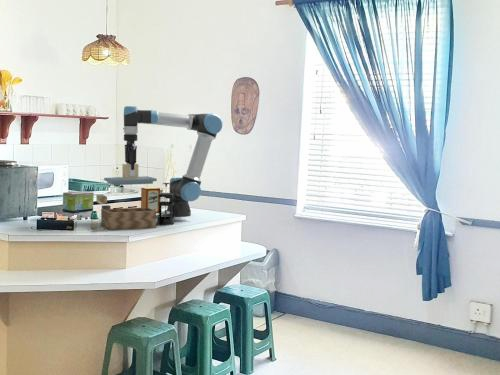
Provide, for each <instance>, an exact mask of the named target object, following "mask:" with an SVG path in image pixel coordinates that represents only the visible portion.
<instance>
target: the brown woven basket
mask: <svg viewBox="0 0 500 375" xmlns="http://www.w3.org/2000/svg"><path fill="white" fill-rule="evenodd" d="M100 221H101V222H100V226H101V227H102V228H104V227H105V229H106V230H108V231H115V230H135V229H154V228H157V213H156V211H155V210H152V209H150V208H141V207H128V208H127V207H126V208H123V207H122V208H120V207H119V208H111V205H109V204H108V205H107V204H103V205H101V212H100Z"/></svg>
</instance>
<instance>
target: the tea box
mask: <svg viewBox="0 0 500 375" xmlns="http://www.w3.org/2000/svg"><path fill="white" fill-rule="evenodd" d="M94 193H95V192H92V191H84V190H81V191H80V190H79V191H78V190H77V191H68V192H62V215H63V216H68V217H71V216H74V215H77V219H79V220H80V219H85V218H92V217H91V213H92V212H93V213H94ZM62 215H61V216H62ZM77 219H76V220H77Z"/></svg>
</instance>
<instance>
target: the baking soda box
mask: <svg viewBox="0 0 500 375" xmlns="http://www.w3.org/2000/svg"><path fill="white" fill-rule="evenodd" d="M140 188H141V191H140V192H141V194H140V198H141V199H140V208H150V209H152V210H155V211H156V214H159V213H158V212H159V205H158V202H161V197H159V195H158V193H161V188H160V187H155V186H153V187H152V186H144V187H140Z"/></svg>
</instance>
